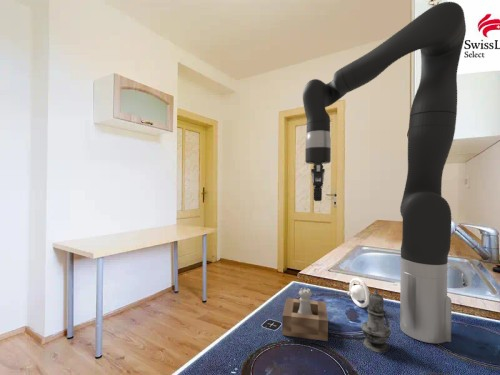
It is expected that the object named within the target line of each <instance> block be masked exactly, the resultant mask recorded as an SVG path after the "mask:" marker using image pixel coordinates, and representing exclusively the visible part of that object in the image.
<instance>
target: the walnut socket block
mask: <svg viewBox="0 0 500 375" xmlns="http://www.w3.org/2000/svg"><path fill="white" fill-rule="evenodd" d="M310 307H311V311H312V314H313V315H310V314H301V313H298V310H299V308H300V298H290V297H287V298H286V299H285V303H284V308H283V313H282V331H281V332H282V336H288V337H294V338H301V339H308V340H318V341H325V342H329V340H328V339H329V318H328V311H327V310H328V309H327V303H326V301H318V300H311V301H310Z"/></svg>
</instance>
